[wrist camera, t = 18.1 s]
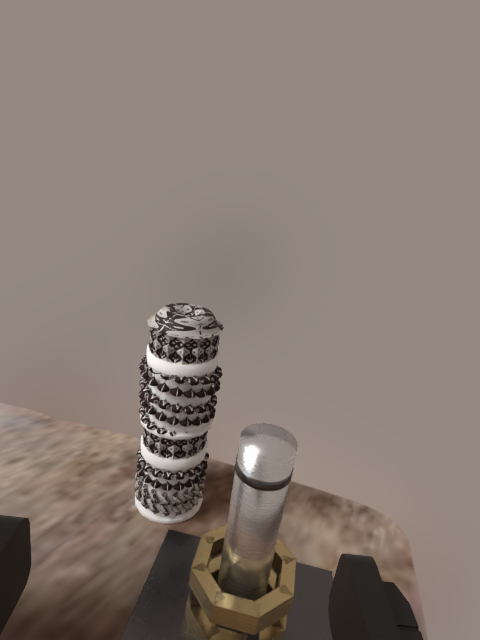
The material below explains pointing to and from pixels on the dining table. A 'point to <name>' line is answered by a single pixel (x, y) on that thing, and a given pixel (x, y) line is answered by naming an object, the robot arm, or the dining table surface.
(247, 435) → the metal thermos flask
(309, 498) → the dining table surface
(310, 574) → the collar stand
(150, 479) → the decorative candle
